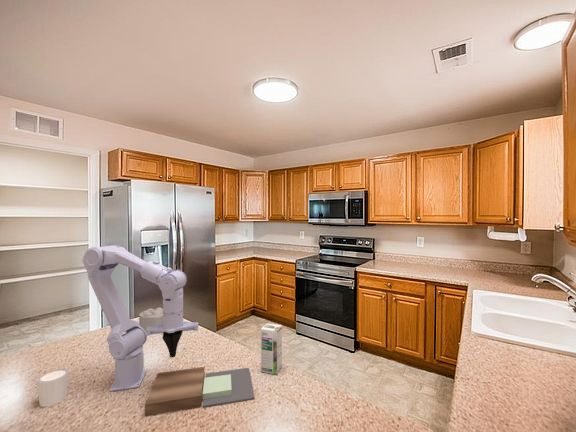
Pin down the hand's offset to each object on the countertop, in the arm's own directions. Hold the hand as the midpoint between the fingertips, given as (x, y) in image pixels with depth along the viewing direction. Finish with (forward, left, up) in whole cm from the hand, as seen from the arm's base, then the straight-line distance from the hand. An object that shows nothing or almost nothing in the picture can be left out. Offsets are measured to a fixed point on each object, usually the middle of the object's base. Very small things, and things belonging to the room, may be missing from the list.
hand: (173, 355), depth 82 cm
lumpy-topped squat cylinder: (-51, -17, -10) cm, 55 cm away
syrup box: (-2, +31, -10) cm, 33 cm away
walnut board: (+4, +2, -9) cm, 10 cm away
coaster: (+5, +13, -9) cm, 17 cm away
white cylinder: (-2, -32, -10) cm, 33 cm away
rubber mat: (+4, +17, -9) cm, 19 cm away
